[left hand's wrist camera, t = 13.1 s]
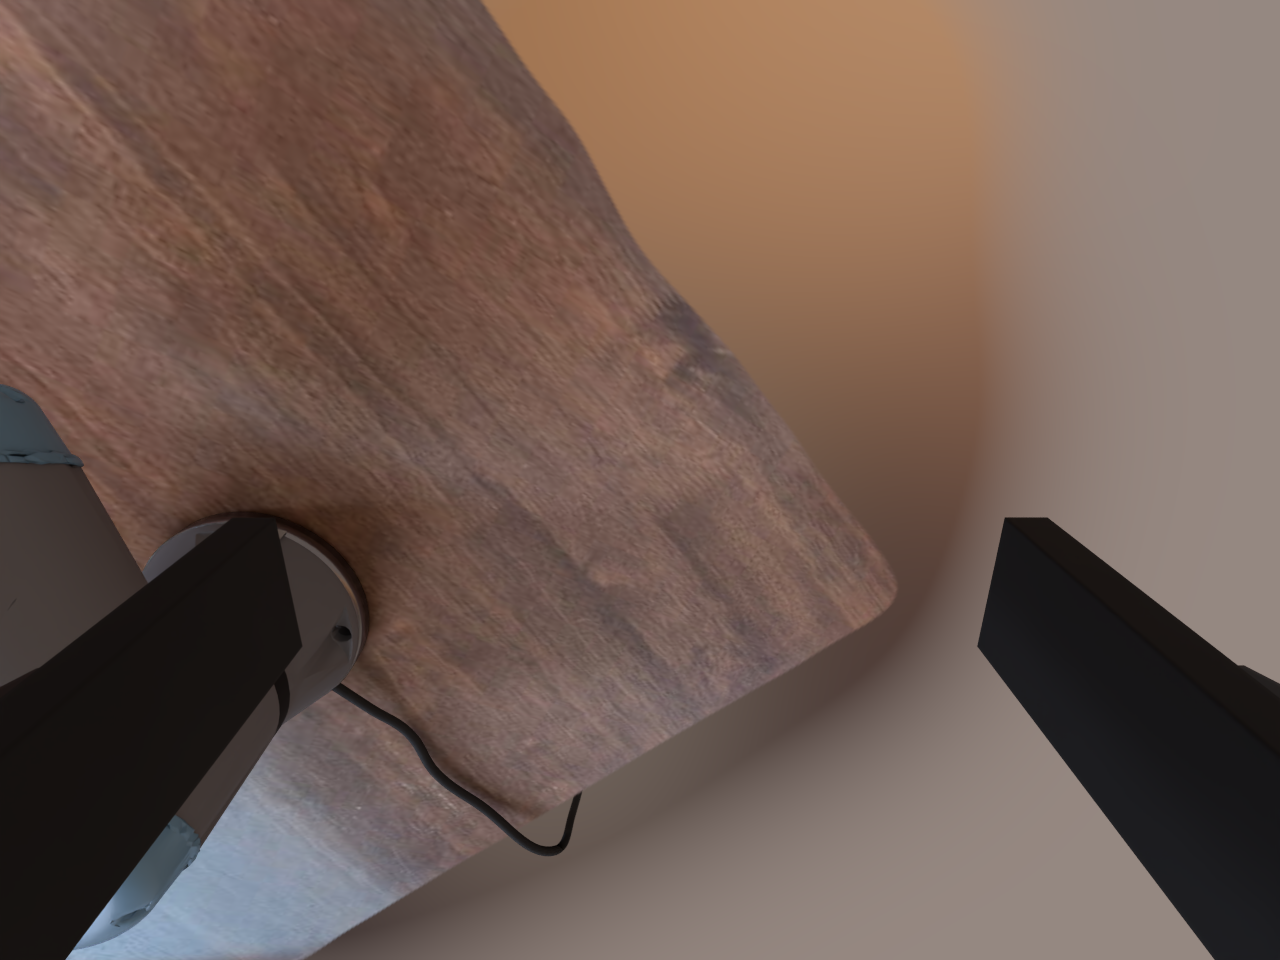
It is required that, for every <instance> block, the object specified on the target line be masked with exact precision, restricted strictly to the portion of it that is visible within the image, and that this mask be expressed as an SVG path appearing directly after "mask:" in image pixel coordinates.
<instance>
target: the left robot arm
mask: <svg viewBox="0 0 1280 960" xmlns="http://www.w3.org/2000/svg"><path fill="white" fill-rule="evenodd" d="M83 466H84V464H83V462H82V460H81V459H80V458H78V457H77V456H75V455H73V454H71V453H70V451H69V450H68V448H67V447H66V445H65V444H64V442H63V441H62V439H61V438H60V437H59V435H58V434H57V432H56V431H55V429H54V428H53V426H52V425H51V423H50V422H49V420H48V419H47V417H46V416H45V414H44V413H43V411H42V410H41V408H40V407H39V405H38V404H37V403H36V402H35V401H34V400H33V399H32V398H30V397H29V396H28V395H26V394H25V393H23V392H21V391H20V390H18V389H15V388H13V387H10V386H7V385H3V384H0V960H65V959H66V958H67V957H68V955H69V954H70V953H71V951H72V950H77V949H82V948H86V947H90V946H94V945H97V944H100V943H103V942H105V941H108V940H110V939H113V938H115V937H117V936H119V935H120V934H122V933H124V932H126V931H127V930H129V929H131V928H132V927H133V926H135V925H136V924H138V923H139V922H140V921H141V920H142V919H143V918H144V917H145V916H147V915H148V914H149V913H150V911H151V910H152V909H153V908H154V907H155V905H156V904H157V903H158V901H159V900H160V899H161V898H162V896H163V895H164V894H165V892H166V891H167V890H168V888H169V887H170V886H171V885H172V883H173V882H174V881H175V880H176V878H177V877H178V876H179V875H180V873H181V872H182V871H183V870H184V869H186V868H187V867H188V866H189V865H190V864H191V863H192V862H193V861H194V860H195V859H196V857H197V854H198V852H200V848H201V846H202V845H203V843H204V842H205V840H206V839H207V837H208V836H209V834H210V833H211V831H212V829H213V828H214V826H215V825H216V823H217V822H218V820H219V819H220V817H221V816H222V814H223V813H224V811H225V810H226V808H227V807H228V805H229V804H230V802H231V801H232V799H233V798H234V796H235V795H236V793H237V792H238V790H239V789H240V787H241V786H242V784H243V783H244V781H245V779H246V778H247V776H248V775H249V773H250V772H251V770H252V769H253V767H254V766H255V764H256V763H257V761H258V760H259V758H260V757H261V755H262V754H263V752H264V751H265V749H266V748H267V746H268V745H269V743H270V742H271V740H272V738H273V737H274V735H275V734H276V733H277V731H278V730H279V728H280V727H281V725H282V724H284V723H285V722H287V721H288V720H290V719H291V718H292V717H294V716H295V715H297V714H298V713H300V712H301V711H303V710H304V709H305V708H307V707H308V706H310V705H311V704H313V703H314V702H316V701H317V700H318V699H320V698H321V697H323V696H324V695H326V694H327V693H328V692H330V691H331V690H333V691H334V692H336V693H337V694H339V695H341V696H342V697H344V698H345V699H347V700H348V701H350V702H351V703H353V704H354V705H356V706H357V707H359V708H361V709H362V710H364V711H365V712H367V713H368V714H370V715H372V716H374V717H375V718H377V719H379V720H381V721H383V722H385V723H387V724H388V725H390V726H392V727H394V728H395V729H397V730H398V731H399V732H401V733H402V734H403V735H404V736H405V737H406V738H407V739H408V740H409V741H410V743H411V744H412V745H413V747H414V749H415V750H416V752H417V754H418V756H419V758H420V759H421V761H422V763H423V765H424V766H425V768H426V769H427V771H428V772H429V773H430V774H431V775H432V776H433V777H434V778H435V779H436V780H437V781H438V782H439V783H440V784H441V785H442V786H444V787H445V788H446V789H447V790H449V791H450V792H452V793H453V794H455V795H456V796H458V797H459V798H461V799H462V800H464V801H466V802H467V803H469V804H470V805H472V806H473V807H475V808H476V809H478V810H479V811H480V812H482V813H483V814H484V815H486V816H487V817H488V818H489V819H490V820H492V821H493V822H494V823H495V824H496V825H497V826H498V827H499V828H501V829H502V830H503V831H504V832H505V833H506V834H507V835H508V836H509V837H511V838H512V839H513V840H514V841H515V842H517V843H518V844H519V845H521V846H522V847H523V848H525V849H527V850H528V851H530V852H532V853H535V854H538V855H542V856H554V855H557V854H559V853H561V852H562V851H563V850H564V849H565V848H566V847H567V845H568V843H569V840H570V837H571V833H572V829H573V824H574V820H575V816H576V813H577V809H578V806H579V802H580V799H581V795H582V791H583V790H582V791H581V792H579V793H577V794H576V795H574V797H573V800H572V804H571V807H570V810H569V814H568V817H567V821H566V825H565V830H564V834H563V836H562V839H561V841H560V842H559V843H558V844H557V845H555V846H552V847H545V846H540V845H538V844H535V843H534V842H532V841H530V840H529V839H527V838H526V837H524V836H523V835H522V834H521V833H520V832H518V831H517V830H516V829H515V828H514V827H513V826H512V825H510V824H509V823H508V822H507V821H506V820H505V819H504V818H503V817H502V816H501V815H499V814H498V813H497V812H496V811H495V810H494V809H492V808H491V807H490V806H489V805H487V804H486V803H485V802H483V801H482V800H480V799H479V798H477V797H476V796H474V795H473V794H471V793H470V792H468V791H466V790H465V789H463V788H462V787H460V786H459V785H457V784H456V783H454V782H453V781H452V780H451V779H449V778H448V777H447V776H446V775H445V774H444V773H443V772H442V771H441V770H440V769H439V768H438V767H437V766H436V765H435V763H434V762H433V760H432V759H431V757H430V755H429V753H428V751H427V749H426V748H425V746H424V744H423V742H422V741H421V739H420V738H419V736H418V735H417V734H416V733H415V732H414V731H413V730H412V729H411V728H410V727H409V726H408V725H407V724H405V723H404V722H403V721H401V720H400V719H398V718H396V717H395V716H393V715H391V714H389V713H387V712H385V711H384V710H382V709H380V708H378V707H377V706H375V705H373V704H372V703H370V702H369V701H367V700H366V699H364V698H363V697H361V696H360V695H358V694H356V693H355V692H353V691H352V690H350V689H349V688H347V687H346V686H344V685H343V684H341V682H342V680H343V679H344V678H345V677H346V676H347V674H348V673H349V671H350V670H351V668H352V667H353V665H354V663H355V662H356V660H357V659H358V657H359V655H360V653H361V652H362V650H363V647H364V645H365V642H366V639H367V635H368V628H369V612H368V605H367V601H366V597H365V594H364V591H363V589H362V586H361V584H360V582H359V580H358V578H357V577H356V575H355V573H354V572H353V570H352V569H351V567H350V566H349V565H348V563H347V562H346V561H345V560H344V559H343V557H342V556H341V555H340V554H339V553H338V552H337V551H336V550H335V549H334V548H333V547H331V546H330V545H329V544H328V543H327V542H325V541H324V540H323V539H321V538H320V537H318V536H317V535H316V534H314V533H312V532H311V531H309V530H307V529H305V528H303V527H301V526H299V525H297V524H295V523H293V522H290V521H287V520H285V519H282V518H278V517H275V516H271V515H266V514H261V513H253V512H228V513H222V514H216V515H212V516H208V517H206V518H203V519H200V520H198V521H196V522H194V523H192V524H190V525H189V526H187V527H186V528H184V529H182V530H181V531H180V532H178V533H177V534H176V535H174V536H173V537H171V538H170V539H169V540H167V541H166V542H165V543H164V544H162V545H161V546H160V547H159V548H158V549H157V550H156V551H155V552H154V554H153V555H152V556H151V558H150V559H149V561H148V563H147V565H146V566H145V568H144V570H143V572H141V570H140V568H139V567H138V565H137V563H136V561H135V560H134V558H133V556H132V555H131V553H130V551H129V549H128V548H127V546H126V544H125V542H124V541H123V539H122V537H121V536H120V534H119V532H118V530H117V529H116V527H115V525H114V523H113V522H112V520H111V518H110V517H109V515H108V513H107V511H106V510H105V508H104V506H103V504H102V503H101V501H100V499H99V498H98V496H97V494H96V492H95V491H94V489H93V487H92V485H91V484H90V482H89V480H88V479H87V477H86V475H85V473H84V472H83V470H82V468H81V467H83ZM978 648H979V649H980V650H981V652H982V653H983V654H984V656H985V657H986V658H987V660H988V661H989V662H990V664H991V665H992V666H993V668H994V669H995V670H996V672H997V673H998V674H999V676H1000V677H1001V678H1002V680H1003V681H1004V682H1005V683H1006V685H1007V686H1008V687H1009V689H1010V690H1011V691H1012V693H1013V694H1014V695H1015V697H1016V698H1017V699H1018V701H1019V702H1020V703H1021V705H1022V706H1023V707H1024V708H1025V710H1026V711H1027V713H1028V714H1029V715H1030V716H1031V718H1032V719H1033V720H1034V722H1035V723H1036V724H1037V726H1038V727H1039V728H1040V730H1041V731H1042V732H1043V734H1044V735H1045V736H1046V738H1047V739H1048V740H1049V742H1050V743H1051V744H1052V745H1053V747H1054V748H1055V749H1056V751H1057V752H1058V753H1059V755H1060V756H1061V757H1062V759H1063V760H1064V761H1065V763H1066V764H1067V765H1068V767H1069V768H1070V769H1071V771H1072V772H1073V773H1074V775H1075V776H1076V777H1077V779H1078V780H1079V781H1080V782H1081V784H1082V785H1083V786H1084V788H1085V789H1086V790H1087V792H1088V793H1089V794H1090V796H1091V797H1092V798H1093V800H1094V801H1095V802H1096V804H1097V805H1098V806H1099V808H1100V809H1101V810H1102V812H1103V813H1104V814H1105V816H1106V817H1107V818H1108V819H1109V821H1110V822H1111V823H1112V825H1113V826H1114V827H1115V829H1116V830H1117V831H1118V833H1119V834H1120V835H1121V837H1122V838H1123V839H1124V841H1125V842H1126V843H1127V845H1128V846H1129V847H1130V849H1131V850H1132V851H1133V852H1134V854H1135V855H1136V856H1137V858H1138V859H1139V860H1140V862H1141V863H1142V864H1143V866H1144V867H1145V868H1146V870H1147V871H1148V872H1149V874H1150V875H1151V876H1152V878H1153V879H1154V880H1155V881H1156V883H1157V884H1158V885H1159V887H1160V888H1161V889H1162V891H1163V892H1164V893H1165V895H1166V896H1167V897H1168V899H1169V900H1170V901H1171V903H1172V904H1173V905H1174V907H1175V908H1176V909H1177V911H1178V912H1179V913H1180V914H1181V916H1182V917H1183V918H1184V920H1185V921H1186V922H1187V924H1188V925H1189V926H1190V928H1191V929H1192V930H1193V932H1194V933H1195V934H1196V936H1197V937H1198V938H1199V940H1200V941H1201V942H1202V943H1203V945H1204V946H1205V948H1206V949H1207V950H1208V951H1209V953H1210V954H1211V955H1212V957H1213V958H1214V959H1215V960H1280V684H1279V683H1277V682H1275V681H1273V680H1271V679H1269V678H1267V677H1265V676H1263V675H1262V674H1259V673H1258V672H1256V671H1254V670H1252V669H1250V668H1248V667H1246V666H1238V665H1236V664H1235V663H1234V662H1232V661H1231V660H1230V659H1229V658H1227V657H1226V656H1225V655H1224V654H1222V653H1221V652H1220V651H1218V650H1217V649H1216V648H1215V647H1213V646H1212V645H1211V644H1209V643H1208V642H1207V641H1206V640H1204V639H1203V638H1202V637H1200V636H1199V635H1198V634H1197V633H1195V632H1194V631H1193V630H1191V629H1190V628H1189V627H1188V626H1186V625H1185V624H1184V623H1182V622H1181V621H1180V620H1179V619H1177V618H1176V617H1175V616H1173V615H1172V614H1171V613H1170V612H1168V611H1167V610H1166V609H1164V608H1163V607H1162V606H1160V605H1159V604H1158V603H1157V602H1155V601H1154V600H1153V599H1152V598H1150V597H1149V596H1148V595H1146V594H1145V593H1144V592H1143V591H1141V590H1140V589H1139V588H1137V587H1136V586H1135V585H1134V584H1132V583H1131V582H1130V581H1128V580H1127V579H1126V578H1124V577H1123V576H1122V575H1121V574H1119V573H1118V572H1117V571H1116V570H1114V569H1113V568H1112V567H1110V566H1109V565H1108V564H1107V563H1105V562H1104V561H1103V560H1101V559H1100V558H1099V557H1097V556H1096V555H1095V554H1094V553H1092V552H1091V551H1090V550H1089V549H1087V548H1086V547H1085V546H1083V545H1082V544H1081V543H1079V542H1078V541H1077V540H1076V539H1074V538H1073V537H1072V536H1071V535H1069V534H1068V533H1067V532H1065V531H1064V530H1063V529H1061V528H1060V527H1059V526H1058V525H1056V524H1055V523H1054V522H1052V521H1051V520H1050V519H1049V518H1005V519H1004V524H1003V529H1002V533H1001V538H1000V543H999V547H998V552H997V557H996V561H995V566H994V571H993V575H992V580H991V585H990V590H989V594H988V599H987V604H986V608H985V613H984V618H983V622H982V627H981V632H980V637H979V641H978Z"/></svg>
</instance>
